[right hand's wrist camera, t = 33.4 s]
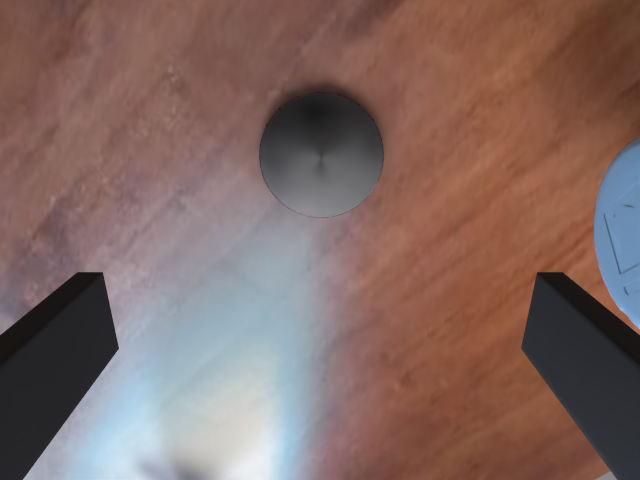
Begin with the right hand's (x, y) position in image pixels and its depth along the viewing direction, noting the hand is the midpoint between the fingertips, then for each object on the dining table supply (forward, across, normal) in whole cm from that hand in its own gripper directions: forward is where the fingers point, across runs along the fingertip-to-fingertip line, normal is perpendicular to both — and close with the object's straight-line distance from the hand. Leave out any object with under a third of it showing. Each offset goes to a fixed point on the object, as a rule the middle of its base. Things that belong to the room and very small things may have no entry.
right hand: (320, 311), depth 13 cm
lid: (+26, 0, 0) cm, 26 cm away
